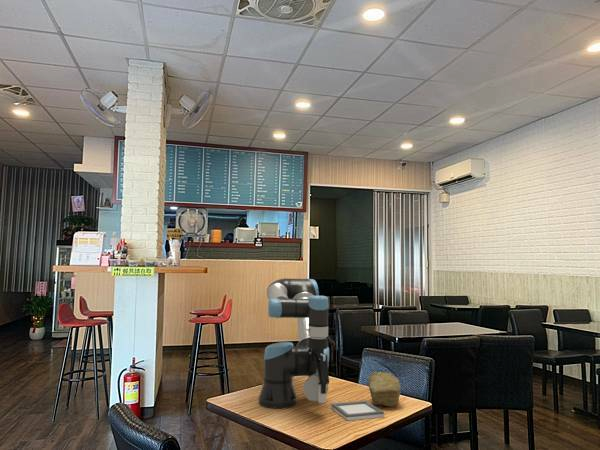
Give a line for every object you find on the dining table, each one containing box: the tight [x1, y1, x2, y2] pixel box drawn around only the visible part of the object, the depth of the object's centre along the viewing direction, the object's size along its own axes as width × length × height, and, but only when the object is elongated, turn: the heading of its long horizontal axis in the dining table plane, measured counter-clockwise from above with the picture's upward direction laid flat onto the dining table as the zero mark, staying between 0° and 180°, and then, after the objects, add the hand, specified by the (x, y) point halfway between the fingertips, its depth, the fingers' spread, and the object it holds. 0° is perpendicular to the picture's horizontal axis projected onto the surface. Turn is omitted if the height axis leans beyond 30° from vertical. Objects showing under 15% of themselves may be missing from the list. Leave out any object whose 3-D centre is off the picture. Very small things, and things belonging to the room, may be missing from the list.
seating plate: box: [330, 400, 385, 422], centre depth 168 cm, size 15×15×2 cm
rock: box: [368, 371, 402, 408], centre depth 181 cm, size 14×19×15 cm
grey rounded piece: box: [302, 374, 329, 402], centre depth 165 cm, size 10×10×10 cm
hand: (316, 397), depth 165 cm, fingers closed on grey rounded piece, 10 cm apart
